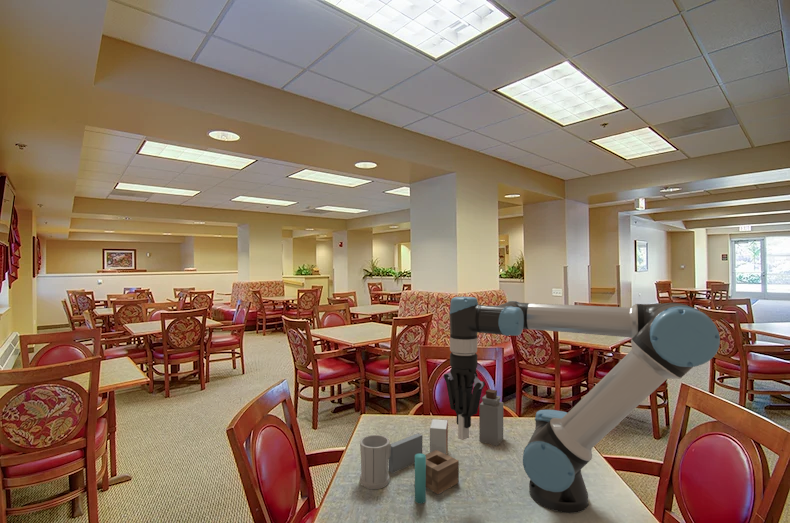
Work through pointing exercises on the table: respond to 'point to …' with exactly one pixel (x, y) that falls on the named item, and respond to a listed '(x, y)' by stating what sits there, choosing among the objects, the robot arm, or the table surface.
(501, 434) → the perfume bottle
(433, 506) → the table surface
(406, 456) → the wall
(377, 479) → the cup
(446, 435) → the small box
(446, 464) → the block
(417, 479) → the dowel
